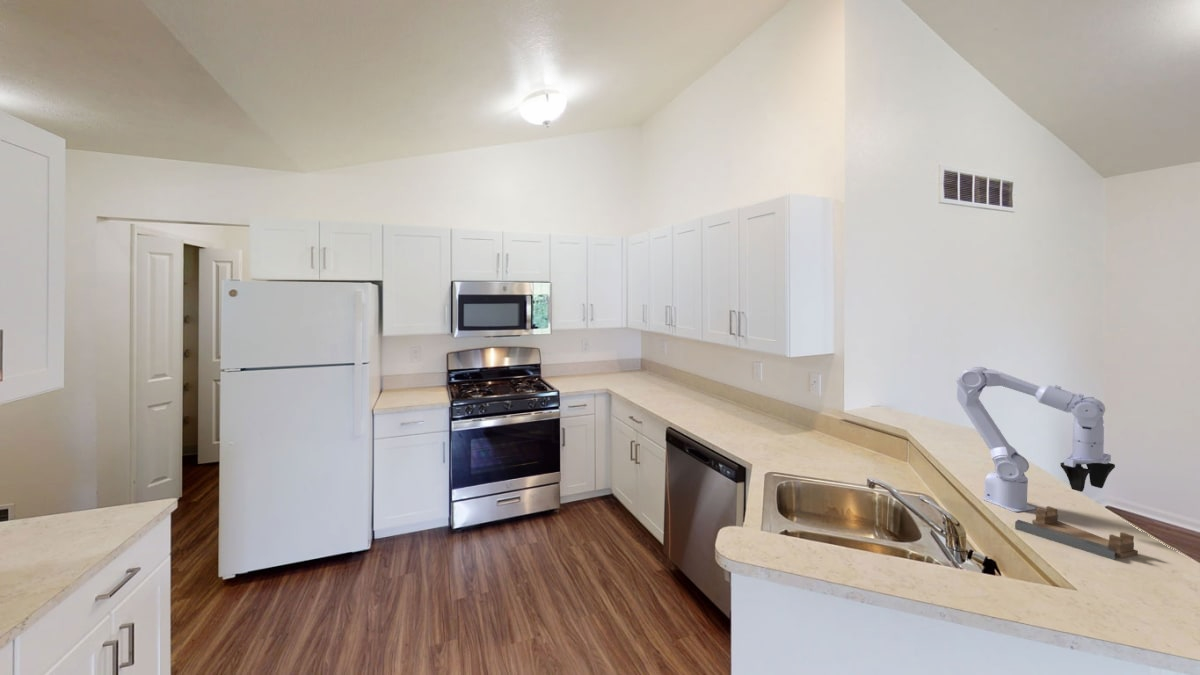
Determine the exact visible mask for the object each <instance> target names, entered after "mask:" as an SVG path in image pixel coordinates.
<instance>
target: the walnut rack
mask: <svg viewBox="0 0 1200 675" xmlns="http://www.w3.org/2000/svg"><path fill="white" fill-rule="evenodd" d="M1058 511H1059V510H1058V508H1054V507H1052V506H1051V505H1048V506H1046V509H1043V508H1041V507H1037V508H1036V514H1035V519H1032V521H1031V524H1035V525H1038V526H1042V527H1045V528H1048V529H1052V530H1055V531H1058V532H1062V533H1065V534H1068V535H1072V536H1075V537H1078V538H1082V539H1085V540H1089V541H1092V542H1095V543H1099V544H1102V545H1105V546H1109V547H1112V548H1115V549H1117V557H1116V558H1118V559H1125V558H1130V557H1134V556H1137V555H1138V554H1139V551H1138V550H1137V549H1135V543H1134V535H1131V534H1129V533H1126V532H1120V533H1119V536H1117V535H1114V534H1109V537H1108V539H1107V538H1105V537H1101V536H1100V535H1097V534H1093V533H1092V532H1089V531H1086V530H1083V529H1081V528H1077V527H1075V526H1073V525H1070V524H1068V523H1064V522H1062V521H1059V517H1058V516H1059V514H1058Z"/></svg>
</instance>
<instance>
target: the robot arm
mask: <svg viewBox="0 0 1200 675" xmlns="http://www.w3.org/2000/svg"><path fill="white" fill-rule="evenodd" d="M956 383H957V386H956V387H957V388H956V389H957V390H956V400H957V401H958V403H959V404H960V406H961V408H962V409H963V411H964V412H965V414H966V415H967V417H968V418H969V420H970V422H971V423H972V424H973V426H974V428H975V430H976V431H977V432H978V434H979V435H980V437H981V438H982V440H983V442H984V443H985V445H986V446H987V448H988V449H989V451H990V457H991V460H992V462H993V464H994V471H995V472H994V471H991V472H988V473H987V475H985V476H986V477H985V478H984V488H983V489H984V493H983V494H984V496H983V497H982V498H981V499H982V500H983V501H985V502H988V503H990V504H993V505H996V506H998V507H1001V508H1003V509H1006V510H1008V511H1012V512H1014V513H1021V512H1026V511H1031V510H1032V511H1033V510H1035V509H1036V508H1035V506H1032V505H1029V504H1028V490H1029V489H1028V484H1029V483H1028V482H1029V481H1028V480H1029V479H1028V477H1027V476H1026V474H1025V473H1026V472H1027V471H1029V469H1030V463H1029V462H1028V460H1027V459H1026V458H1025V457H1024V456H1023V455H1021V454H1020V453H1018V451H1017V450H1016V449H1015V448H1014V447H1013V446H1012V445H1010V444H1009V442H1008V440H1007V439H1006V437H1005V436H1004V435H1003V433H1002V431H1001V430H1000V429H999V426H997V424H996V423H995V420H994V419H993V418H992V416H991V415H990V414H989V412H988V411H987V409H986V408H985V406H984V404H983V403H982V401H981V399H979V398H980V395H981V394H982V392H983V389H985V388H986V387H987V388H989V387H1004V388H1007V389H1010V390H1014V391H1017V392H1019V393H1023V394H1025V395H1029V396H1033V397H1034V398H1036V400H1037V401H1038V403H1040V404H1043V405H1046V406H1048V407H1051V408H1053V409H1056V410H1058V411H1062V412H1065V413H1070V414H1072V415H1073V417H1074V418H1073V421H1074V422H1073V423H1072V453H1071V454H1070V455H1069V456H1067V457H1064V458H1063V460H1064V461H1063V462H1060V468H1061V469H1062V470H1063V471H1064V473H1065V475H1066V476H1067V479H1068V482H1069V486H1070V488H1071V489H1072V490H1074V491H1077V492H1083V491H1084V489H1085V485H1086V480H1087V477H1088V476H1089V477H1088V478H1089V483H1090V485H1091V487H1095V488H1098V489H1103V487H1104V485H1105V483H1106V480H1107V478H1108V477H1109V475H1110V473H1111V472H1112V471H1113V470H1114V469H1115V468H1116V464H1115V463H1112V462H1111V460H1112V459H1111V457H1112V456H1111V454H1109V453H1104V445H1105V443H1104V441H1105V440H1104V439H1105V426H1104V424H1105V421H1104V417H1103V416H1104V415H1105V414H1104V413H1105V412H1106V406H1105V404H1104V403H1103V402H1102V401H1101V400H1100V399H1097V398H1095V397H1094V396H1085V395H1084V394H1083V393H1079V394H1076V393H1074V392H1071V391H1068V390H1065V389H1062V386H1060V385H1057V384H1055V385H1054V386H1053V385H1051V384H1050V385H1048V384H1047V385H1044V386H1039V385H1036V384H1034V383H1031V382H1029V381H1026V380H1023V379H1020V378H1017V377H1014V376H1012V375H1011V374H1010V375H1009V374H1006V373H1003V372H1002V371H998V370H995V369H989V368H986V367H983V366H974V367H971V368H970V369H965V370H963V371H962V372H961V373H960V374H959V375H958V377H957V379H956ZM1083 465H1086V467H1083Z"/></svg>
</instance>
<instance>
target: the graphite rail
mask: <svg viewBox="0 0 1200 675" xmlns="http://www.w3.org/2000/svg"><path fill="white" fill-rule="evenodd" d="M1014 522H1015V523H1014V529H1015V530H1016V531H1020V532H1023V533H1025V534H1029V535H1032V536H1035V537H1039V538H1042V539H1045V540H1048V541H1052V542H1055V543H1058V544H1061V545H1064V546H1067V547H1071V548H1074V549H1078V550H1080V551H1083V552H1086V553H1090V554H1093V555H1096V556H1100V557H1102V558H1103V557H1104V558H1106V559H1109V560H1113V561H1115V560H1116V559H1117V558H1118V557H1117V549H1115V548H1112V547H1109V546H1105V545H1102V544H1099V543H1095V542H1092V541H1089V540H1085V539H1082V538H1078V537H1075V536H1072V535H1068V534H1065V533H1062V532H1058V531H1055V530H1052V529H1048V528H1045V527H1042V526H1038V525H1035V524H1033V523H1032V522H1028V521H1025V520H1021V519H1017V520H1016V521H1014Z"/></svg>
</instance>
